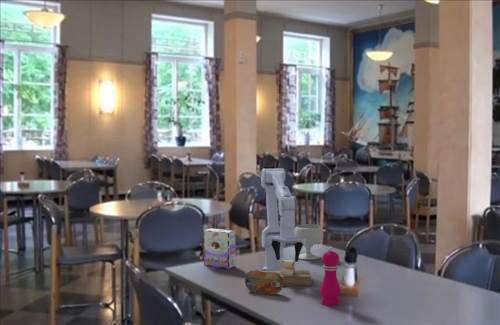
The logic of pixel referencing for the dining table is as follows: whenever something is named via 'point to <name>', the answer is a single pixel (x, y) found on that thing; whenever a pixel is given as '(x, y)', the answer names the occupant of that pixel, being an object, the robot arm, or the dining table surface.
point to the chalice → (309, 239)
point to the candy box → (219, 248)
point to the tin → (264, 282)
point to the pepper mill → (330, 279)
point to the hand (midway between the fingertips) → (287, 260)
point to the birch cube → (287, 267)
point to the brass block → (295, 278)
